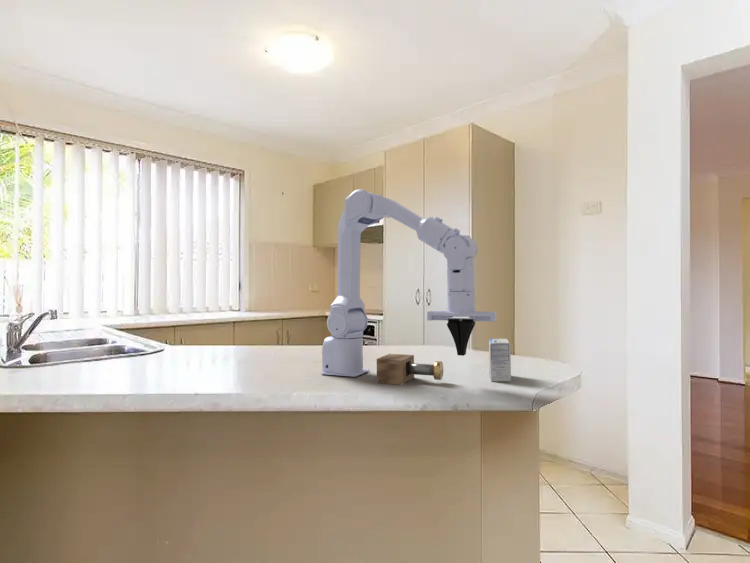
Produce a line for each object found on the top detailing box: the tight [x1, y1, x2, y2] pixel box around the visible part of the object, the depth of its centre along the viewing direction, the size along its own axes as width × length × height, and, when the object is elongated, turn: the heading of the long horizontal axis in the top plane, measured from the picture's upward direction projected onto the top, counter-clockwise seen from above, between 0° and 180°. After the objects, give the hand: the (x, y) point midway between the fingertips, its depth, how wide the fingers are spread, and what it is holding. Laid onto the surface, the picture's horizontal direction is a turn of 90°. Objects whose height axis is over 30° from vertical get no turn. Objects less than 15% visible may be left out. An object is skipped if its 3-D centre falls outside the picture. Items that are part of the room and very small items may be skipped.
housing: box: [376, 353, 415, 386], centre depth 107 cm, size 6×8×5 cm
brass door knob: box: [406, 360, 444, 381], centre depth 105 cm, size 9×4×4 cm, turn 67°
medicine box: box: [488, 338, 512, 383], centre depth 108 cm, size 8×4×9 cm, turn 168°
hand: (461, 354), depth 101 cm, fingers closed
